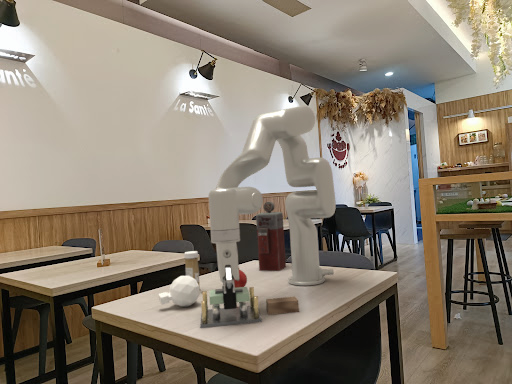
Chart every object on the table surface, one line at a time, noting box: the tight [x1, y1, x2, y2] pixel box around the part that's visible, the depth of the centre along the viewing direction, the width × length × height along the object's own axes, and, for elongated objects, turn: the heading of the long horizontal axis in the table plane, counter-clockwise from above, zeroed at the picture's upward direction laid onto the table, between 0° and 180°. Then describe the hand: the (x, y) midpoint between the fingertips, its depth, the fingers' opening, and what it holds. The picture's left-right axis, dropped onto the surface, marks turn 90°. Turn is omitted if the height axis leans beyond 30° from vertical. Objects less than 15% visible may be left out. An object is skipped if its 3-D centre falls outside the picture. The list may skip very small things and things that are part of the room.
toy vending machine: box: [255, 201, 287, 272], centre depth 160 cm, size 9×11×28 cm
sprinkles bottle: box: [183, 250, 201, 291], centre depth 129 cm, size 5×5×14 cm
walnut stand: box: [265, 296, 300, 315], centre depth 102 cm, size 8×4×3 cm, turn 97°
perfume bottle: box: [158, 275, 201, 308], centre depth 113 cm, size 9×9×12 cm
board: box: [209, 286, 250, 306], centre depth 100 cm, size 10×7×3 cm
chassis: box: [199, 286, 263, 329], centre depth 100 cm, size 15×12×6 cm
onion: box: [234, 268, 248, 288], centre depth 126 cm, size 6×6×8 cm
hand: (229, 303), depth 100 cm, fingers closed on board, 6 cm apart
